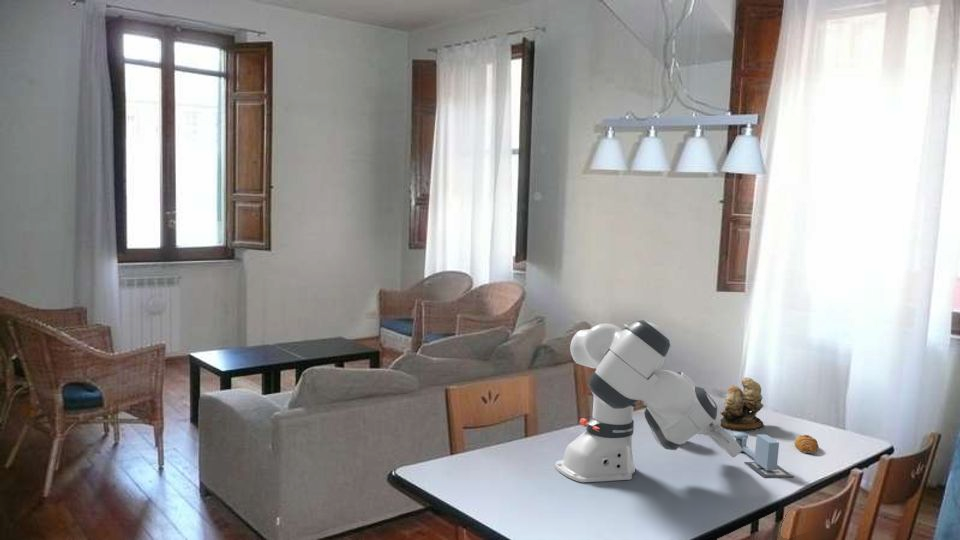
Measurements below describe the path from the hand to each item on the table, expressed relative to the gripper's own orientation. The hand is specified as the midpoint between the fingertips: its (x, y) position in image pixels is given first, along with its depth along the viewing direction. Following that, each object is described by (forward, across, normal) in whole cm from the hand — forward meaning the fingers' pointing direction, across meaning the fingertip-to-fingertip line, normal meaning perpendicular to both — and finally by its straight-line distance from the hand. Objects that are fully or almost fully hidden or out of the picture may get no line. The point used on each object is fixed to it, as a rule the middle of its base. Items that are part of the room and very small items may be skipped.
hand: (733, 453), depth 211 cm
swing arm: (+9, +7, -4) cm, 12 cm away
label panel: (+10, -1, -4) cm, 11 cm away
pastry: (+26, +17, -20) cm, 37 cm away
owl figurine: (+19, +40, -12) cm, 46 cm away
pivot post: (+10, +15, -4) cm, 19 cm away
